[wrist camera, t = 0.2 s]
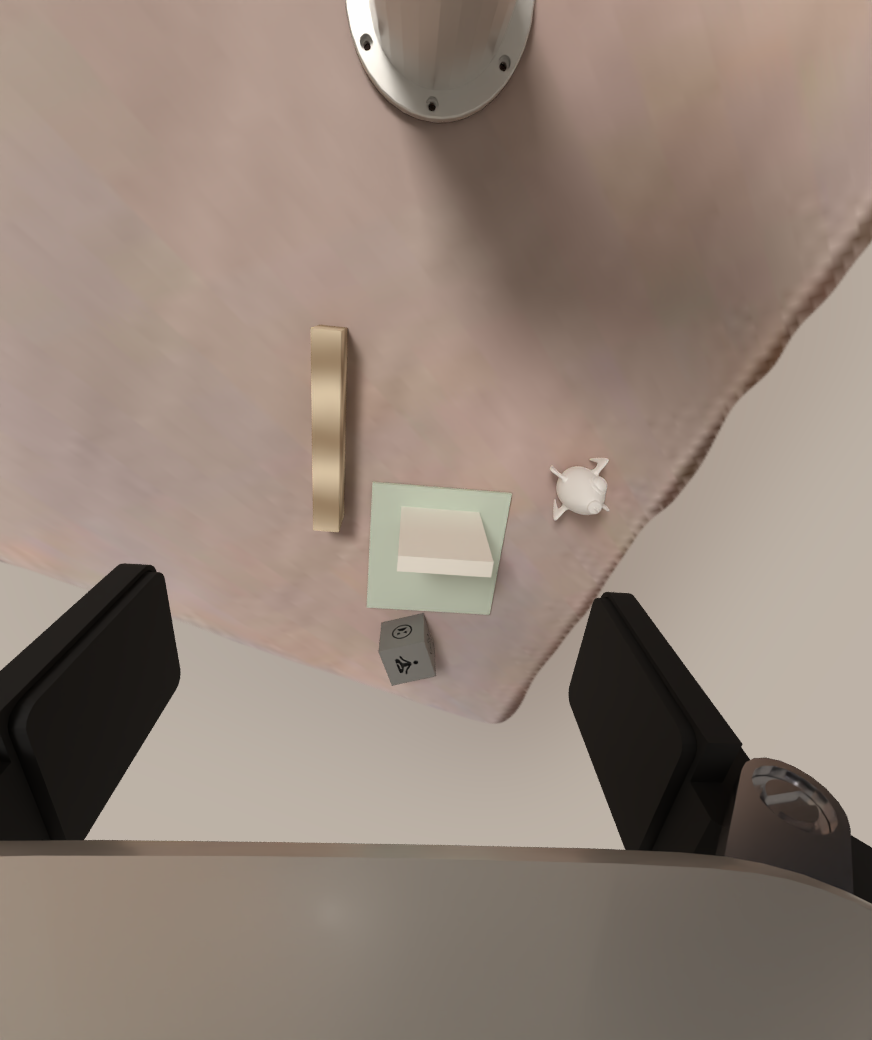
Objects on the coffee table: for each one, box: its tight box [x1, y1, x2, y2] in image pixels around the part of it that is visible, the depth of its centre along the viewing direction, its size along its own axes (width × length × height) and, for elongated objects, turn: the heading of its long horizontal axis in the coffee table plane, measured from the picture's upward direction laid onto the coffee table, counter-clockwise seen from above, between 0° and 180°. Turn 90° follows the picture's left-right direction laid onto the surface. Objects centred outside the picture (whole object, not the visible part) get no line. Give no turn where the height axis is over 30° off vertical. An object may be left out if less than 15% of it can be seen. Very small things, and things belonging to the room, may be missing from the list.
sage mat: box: [367, 482, 512, 615], centre depth 51 cm, size 15×14×1 cm
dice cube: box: [379, 613, 436, 686], centre depth 54 cm, size 5×5×5 cm
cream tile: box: [397, 506, 494, 577], centre depth 44 cm, size 2×8×10 cm, turn 84°
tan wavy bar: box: [311, 325, 348, 532], centre depth 43 cm, size 18×2×4 cm, turn 174°
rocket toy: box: [550, 458, 609, 520], centre depth 44 cm, size 5×5×8 cm
